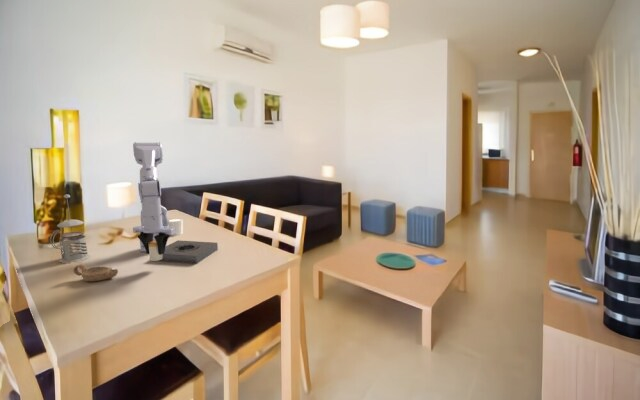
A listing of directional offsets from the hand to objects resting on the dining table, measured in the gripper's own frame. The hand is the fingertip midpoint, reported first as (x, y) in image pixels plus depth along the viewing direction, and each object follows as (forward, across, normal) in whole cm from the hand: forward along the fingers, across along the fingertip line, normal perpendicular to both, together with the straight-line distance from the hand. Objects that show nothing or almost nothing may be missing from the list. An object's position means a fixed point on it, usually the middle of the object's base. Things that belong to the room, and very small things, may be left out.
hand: (155, 253), depth 111 cm
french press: (+6, -38, +3) cm, 38 cm away
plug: (+2, 0, 0) cm, 2 cm away
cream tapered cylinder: (+6, -20, +41) cm, 46 cm away
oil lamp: (+6, -14, -11) cm, 19 cm away
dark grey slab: (+6, +2, +15) cm, 16 cm away
